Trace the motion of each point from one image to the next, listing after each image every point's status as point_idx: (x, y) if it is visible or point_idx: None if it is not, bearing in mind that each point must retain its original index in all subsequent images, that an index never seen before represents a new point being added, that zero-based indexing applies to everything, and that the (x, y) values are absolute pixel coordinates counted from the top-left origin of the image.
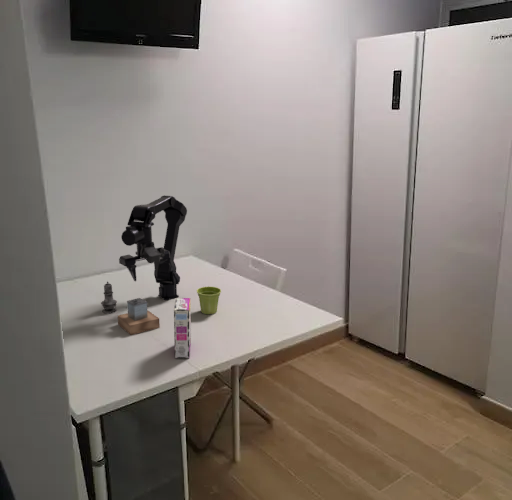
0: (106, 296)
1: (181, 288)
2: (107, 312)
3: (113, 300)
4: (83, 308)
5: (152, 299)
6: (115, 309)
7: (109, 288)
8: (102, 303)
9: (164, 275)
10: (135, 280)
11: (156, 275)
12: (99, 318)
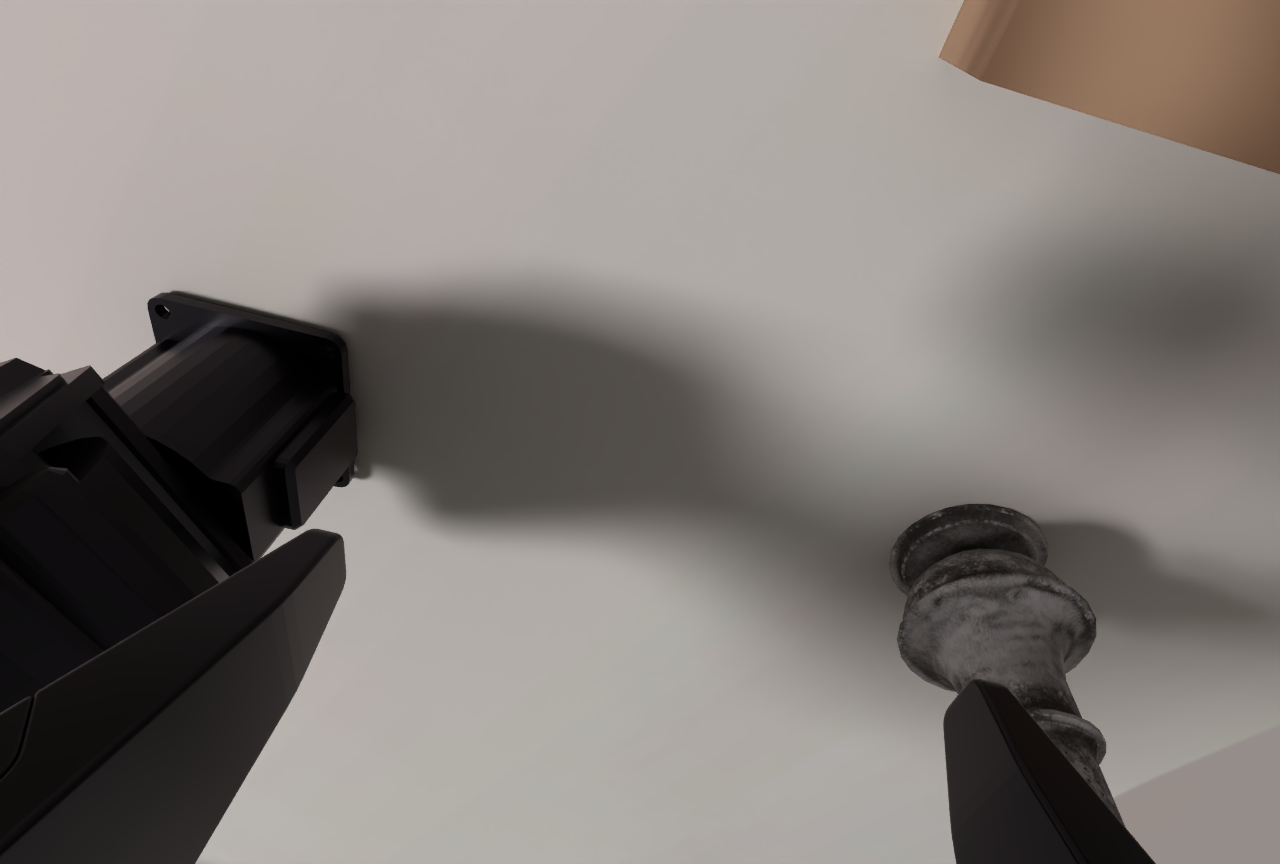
0: (1079, 714)
1: None
2: (1033, 543)
3: (973, 626)
4: None
5: (449, 460)
6: (924, 536)
7: None
8: (1072, 661)
9: (107, 569)
10: (1016, 703)
11: (331, 571)
12: (1215, 503)
